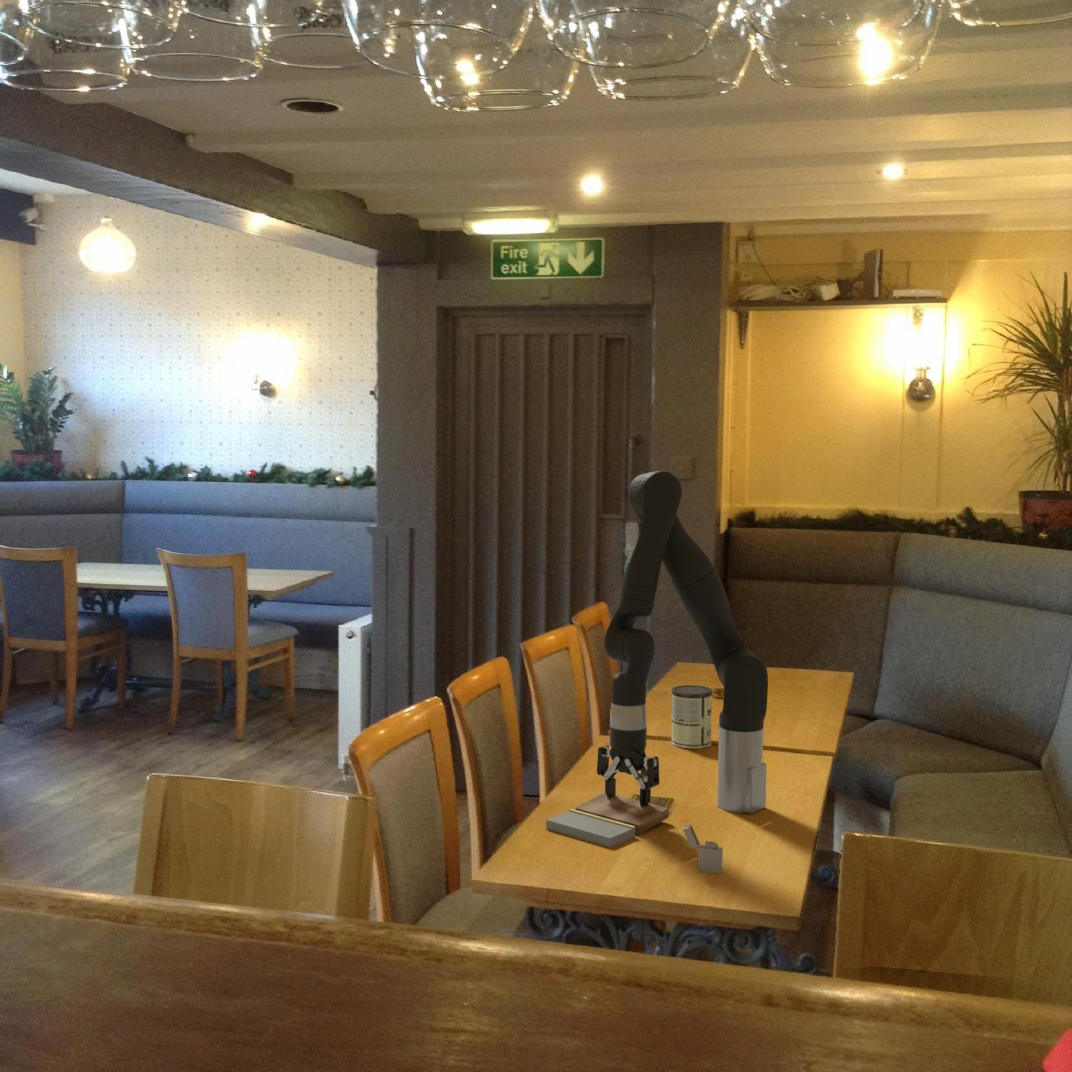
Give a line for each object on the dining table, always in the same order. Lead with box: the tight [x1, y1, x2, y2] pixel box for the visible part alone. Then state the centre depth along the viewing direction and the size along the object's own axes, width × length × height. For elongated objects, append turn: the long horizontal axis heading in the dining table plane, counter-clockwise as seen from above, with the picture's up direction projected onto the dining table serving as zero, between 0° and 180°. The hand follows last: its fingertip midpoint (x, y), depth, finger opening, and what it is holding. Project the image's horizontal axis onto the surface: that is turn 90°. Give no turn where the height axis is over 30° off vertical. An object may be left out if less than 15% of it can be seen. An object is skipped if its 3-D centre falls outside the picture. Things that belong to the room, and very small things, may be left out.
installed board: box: [545, 808, 636, 849], centre depth 232 cm, size 16×8×2 cm, turn 49°
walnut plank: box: [575, 791, 670, 836], centre depth 240 cm, size 16×10×2 cm, turn 49°
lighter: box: [682, 823, 724, 875], centre depth 213 cm, size 7×2×8 cm, turn 71°
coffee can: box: [670, 684, 714, 750], centre depth 300 cm, size 10×10×14 cm
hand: (627, 801), depth 243 cm, fingers open, 8 cm apart
